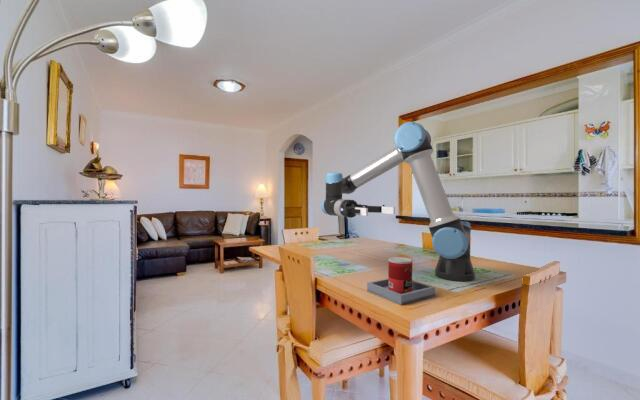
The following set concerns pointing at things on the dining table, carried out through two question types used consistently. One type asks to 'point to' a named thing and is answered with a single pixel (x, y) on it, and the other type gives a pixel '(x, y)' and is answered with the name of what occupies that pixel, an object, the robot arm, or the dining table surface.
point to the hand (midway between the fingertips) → (381, 211)
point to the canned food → (400, 274)
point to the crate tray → (416, 294)
